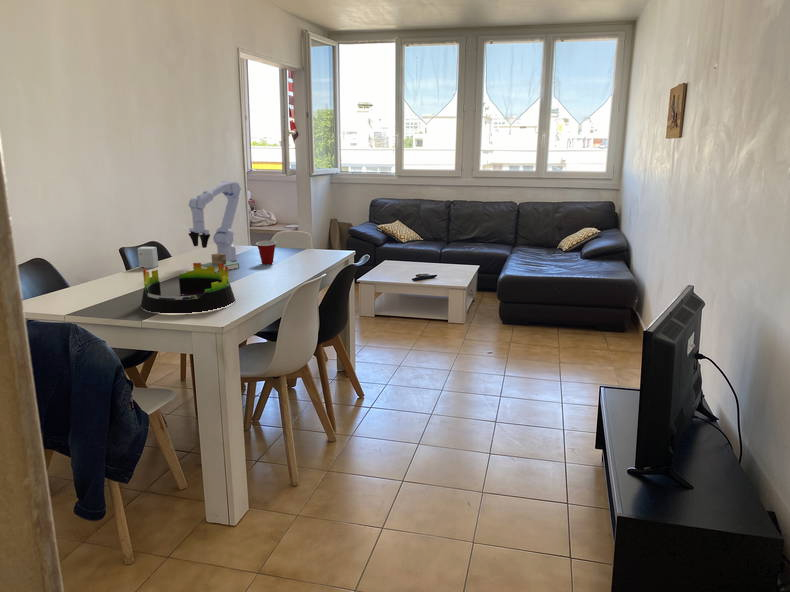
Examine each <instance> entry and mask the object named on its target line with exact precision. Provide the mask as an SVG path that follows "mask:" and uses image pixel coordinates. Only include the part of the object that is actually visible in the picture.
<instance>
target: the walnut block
mask: <svg viewBox="0 0 790 592" xmlns="http://www.w3.org/2000/svg"><path fill="white" fill-rule="evenodd" d="M211 263H212V264H214V265H218V263H221V264H226V254H221V253H213V254H211Z"/></svg>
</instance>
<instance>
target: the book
mask: <svg viewBox="0 0 790 592" xmlns="http://www.w3.org/2000/svg"><path fill="white" fill-rule="evenodd" d="M207 266H214V268H215V272H216V273H219V272H218V271H219V269H218V265H214V264H212V262H207V263H203V264H202V263H201V268H207ZM225 266H227V267H228V271H230V270H229V269H232V270H235V269H234V268H238V269H240V263H239V262H236V261H226V264H224V269H225Z"/></svg>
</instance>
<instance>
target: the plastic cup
mask: <svg viewBox="0 0 790 592" xmlns="http://www.w3.org/2000/svg"><path fill="white" fill-rule="evenodd" d="M255 245H256V247H257V249H258V254H259V257H260V260H261V265H263V264H271V265H273V264H272V263H274V259H275V251H276V250H275V249H276V245H277V241H275V240H262V241H257V242H256V243H255Z"/></svg>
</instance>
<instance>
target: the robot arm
mask: <svg viewBox="0 0 790 592" xmlns="http://www.w3.org/2000/svg"><path fill="white" fill-rule="evenodd" d="M241 189H242V187H241V186H240V183H239V182H237V181H226V180H223V181H220V182H219V183H218V185H216V186H215V187H213V188H212V189H211V190H210V191H209V190H203V192H202V193H201V194H198V195H197V196H196V197H192V198H190V200H189V203H188V206H189V208H190V211H191V216H192V228H189V230H188V231H189V233H188V236H189V237H190V240H191V242H192V244H193V247H198V246H199V239H200V241H201V246H202V249H204V248H207V247H208V242H209V239H210V237H211V234H210V230H208V229H205V214H204V213H205V212H204V209H206V206H207V205H208V204H210V203H211V202H212V201H214V198H215V197H216V196H218V195H220V194H223V195H224V197H225V198H226V199H227V203H226V207H225V210H224V214H223V218H222V221H221V224H220V225H221V226H220V227H219V228H217V229H216V231H215V233H214V234H213V239H212V240H213V242H214V244H215V245H216V247H217V249H216V250H217V251H216V254H218V253H221V254H226V261H231V262H236V261H237V250H236V247H235V245H234V244H233V242H234V235H235V234H234V232H233V230H232V227H233V223H234V218H235V215H236V211H237V208H238V204H239V201H240V200H239V199H240V193H241ZM235 260H236V261H235Z"/></svg>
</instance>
